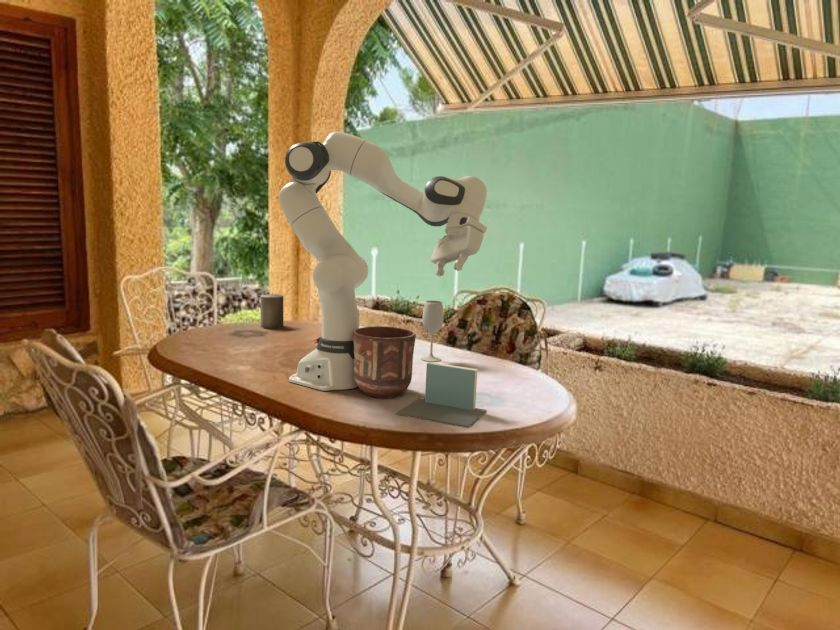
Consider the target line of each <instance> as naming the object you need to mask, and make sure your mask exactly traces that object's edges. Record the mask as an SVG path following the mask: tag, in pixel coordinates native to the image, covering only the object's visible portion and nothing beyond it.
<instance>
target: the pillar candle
mask: <svg viewBox="0 0 840 630" xmlns="http://www.w3.org/2000/svg"><path fill="white" fill-rule="evenodd" d="M284 326H285V325H284V295H283V294H276V293H274V292H271V294H270V293H268V294H267V293H266V294H261V295H260V328H262V327H263V328H262V329H269V330H270V329H271V330H274V329H282V328H283V327H284Z"/></svg>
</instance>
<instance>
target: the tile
mask: <svg viewBox="0 0 840 630" xmlns="http://www.w3.org/2000/svg"><path fill="white" fill-rule="evenodd" d="M425 369H426V371H425V392H424V393H425V394H424V399H425V402H427V403H433V404H439V405H445V406H450V407H456V408H462V409H467V410H474V409H475V408H476V399H477V384H478V372H479V371H478V368H472V367H466V366H458V365H452V364H451V365H450V364H445V363H438V362H427V363H426V368H425Z"/></svg>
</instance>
